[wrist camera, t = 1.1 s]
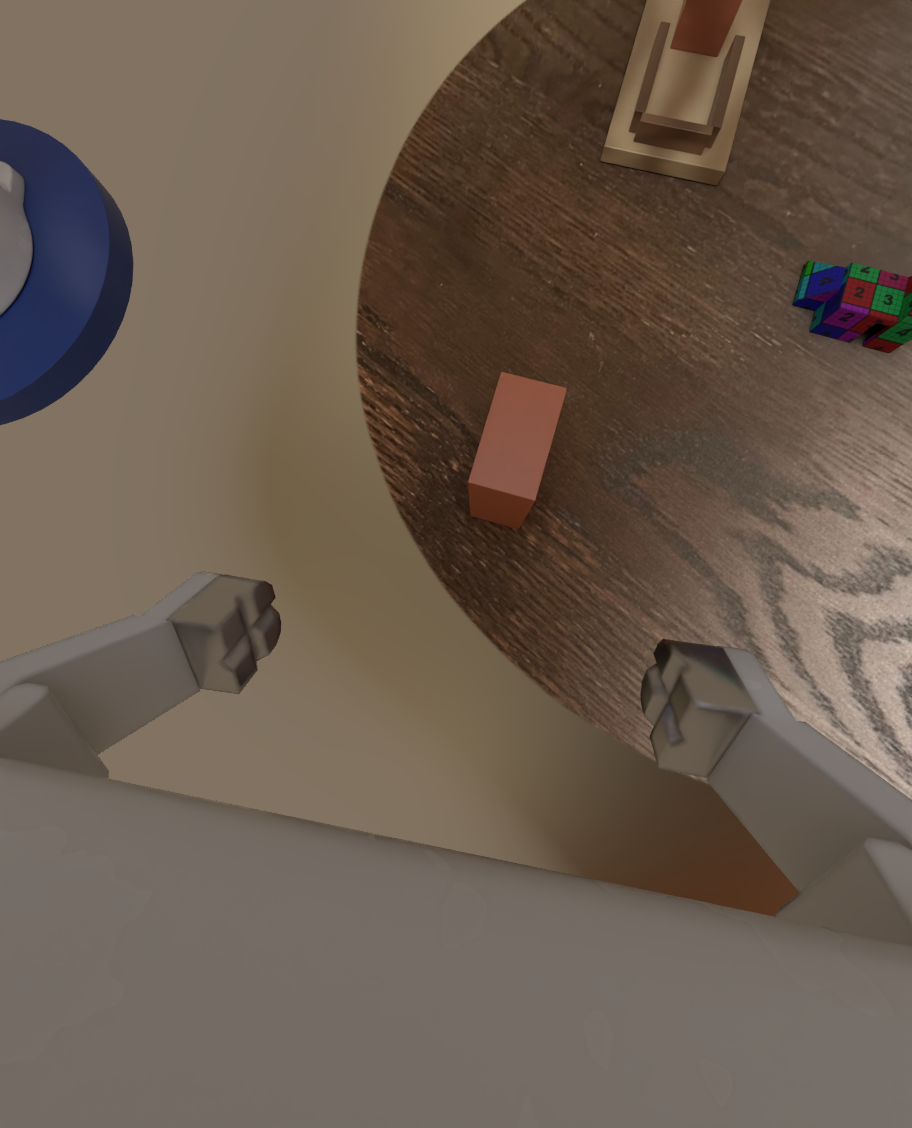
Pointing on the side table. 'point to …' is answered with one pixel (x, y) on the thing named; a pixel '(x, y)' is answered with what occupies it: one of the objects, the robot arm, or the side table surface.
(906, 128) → the side table surface
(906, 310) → the numbered block arch
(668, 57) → the pad base
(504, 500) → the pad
